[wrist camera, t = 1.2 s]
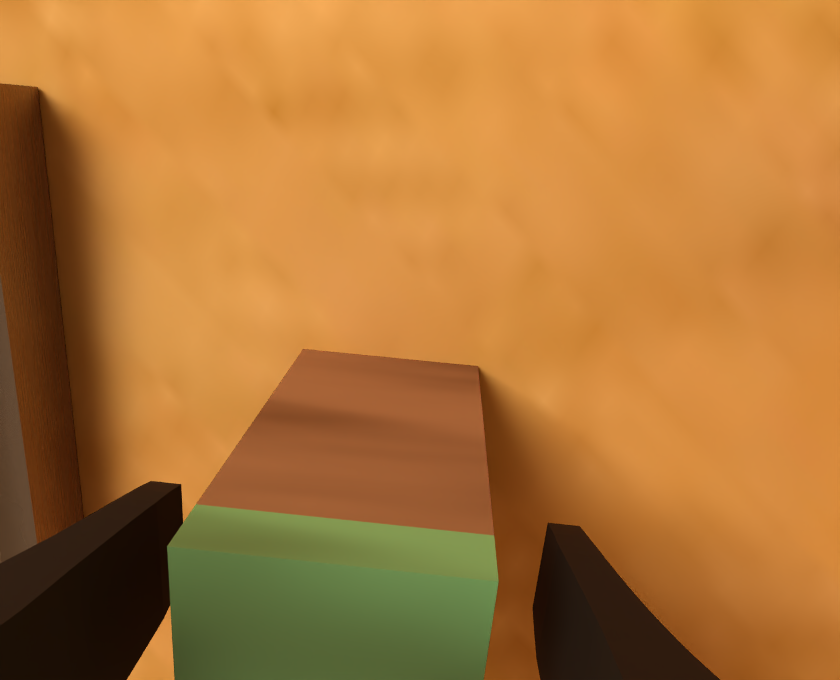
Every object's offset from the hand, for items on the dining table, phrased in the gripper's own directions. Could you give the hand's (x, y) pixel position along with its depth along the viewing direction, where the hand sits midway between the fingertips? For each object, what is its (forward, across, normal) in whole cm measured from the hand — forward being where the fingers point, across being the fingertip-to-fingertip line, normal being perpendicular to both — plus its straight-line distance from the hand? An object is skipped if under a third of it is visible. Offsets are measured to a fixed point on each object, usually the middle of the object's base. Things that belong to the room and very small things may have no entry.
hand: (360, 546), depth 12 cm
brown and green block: (+5, 0, 0) cm, 5 cm away
